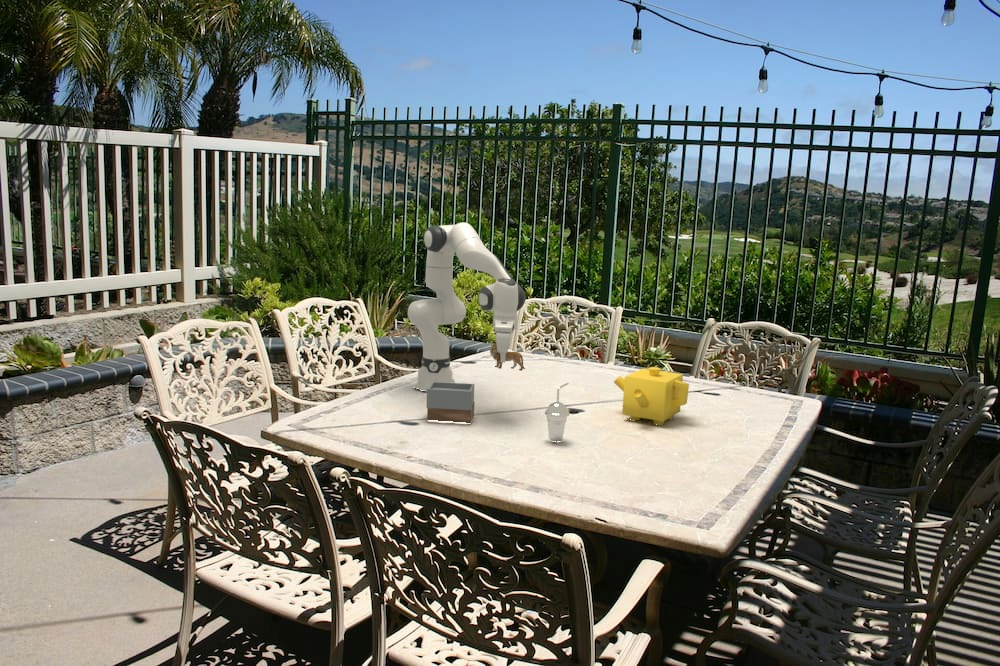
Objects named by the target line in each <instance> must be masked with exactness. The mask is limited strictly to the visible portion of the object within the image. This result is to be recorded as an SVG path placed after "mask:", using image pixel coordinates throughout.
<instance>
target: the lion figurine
mask: <svg viewBox="0 0 1000 666" xmlns="http://www.w3.org/2000/svg"><path fill="white" fill-rule="evenodd" d="M489 354H490V355H491V356H492V358H493V359H494V360H495V361H496V365H495V366H494V367H495V368H498V369H499V370H501V369H502V368H503V363H502V362H500V353H498V352H497V342H495V343H492V344H491V346H490V348H489ZM511 361H513V366H511V367H510V369H512V370H514V369H515V368H516V367H517V364H518V366H519V367H520V368H519V369H518V370H519V371H523V370H526V367H525V366H524V357H523V355H522V353H521V352H519V351H508V352H507V353H506V360H505V362H511Z"/></svg>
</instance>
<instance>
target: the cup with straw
mask: <svg viewBox="0 0 1000 666" xmlns="http://www.w3.org/2000/svg"><path fill="white" fill-rule="evenodd" d="M569 384H570V383H569V382H565V383H563V384H562V385H560V386H558V387H557V391H556V401H553V402H551V403H550V404H549V405H548V407H547V408H546V409H545V411H544V415H545V416H546V419H547V420H546V421H547V430H548V431H547V432H548V440H549V439H550V440H551V441H556V442H557V441H562V442H563V439H564V433H565V429H566V428H565V427H566V422H567V419H568V417H569V416H570V411H569V410H568V408H567V407H566V405H565V404H564V403H562V402H561V401H560V390H561V389H562V388H564V387H566V386H568V385H569Z"/></svg>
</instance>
